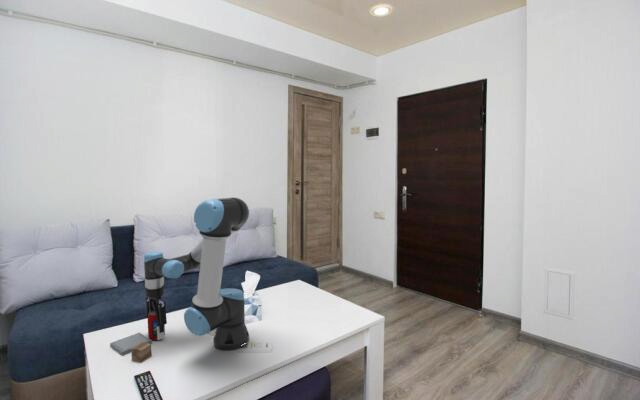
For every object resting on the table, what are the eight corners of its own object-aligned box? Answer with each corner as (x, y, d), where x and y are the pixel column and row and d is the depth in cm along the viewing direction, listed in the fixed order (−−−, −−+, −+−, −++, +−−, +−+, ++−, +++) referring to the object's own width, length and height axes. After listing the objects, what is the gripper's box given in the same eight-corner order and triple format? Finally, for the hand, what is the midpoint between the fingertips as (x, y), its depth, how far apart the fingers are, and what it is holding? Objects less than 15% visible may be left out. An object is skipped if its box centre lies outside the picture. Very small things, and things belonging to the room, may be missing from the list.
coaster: (152, 343, 144) (152, 340, 144) (122, 355, 135) (122, 351, 135) (139, 335, 152) (139, 332, 152) (110, 346, 142) (110, 342, 142)
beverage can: (158, 341, 146) (157, 315, 145) (144, 340, 147) (143, 314, 147) (168, 334, 153) (167, 309, 152) (155, 333, 154) (154, 308, 153)
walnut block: (151, 355, 135) (151, 344, 134) (141, 362, 130) (141, 350, 130) (142, 354, 136) (141, 342, 136) (131, 360, 132) (131, 348, 131)
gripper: (174, 288, 145) (176, 339, 147) (152, 280, 157) (154, 327, 159) (157, 293, 139) (159, 346, 141) (135, 284, 151) (138, 333, 153)
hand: (156, 336), depth 150 cm, fingers closed on beverage can, 7 cm apart
